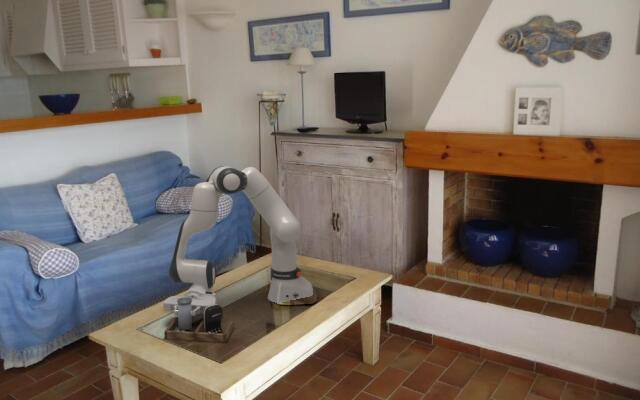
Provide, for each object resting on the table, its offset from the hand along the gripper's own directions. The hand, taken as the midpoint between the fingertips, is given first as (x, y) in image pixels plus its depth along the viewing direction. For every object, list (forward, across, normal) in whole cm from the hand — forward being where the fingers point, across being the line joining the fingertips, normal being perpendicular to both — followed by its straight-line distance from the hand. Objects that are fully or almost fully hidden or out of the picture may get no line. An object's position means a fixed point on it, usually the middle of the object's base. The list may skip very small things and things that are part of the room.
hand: (184, 313), depth 204 cm
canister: (-1, 0, +6) cm, 6 cm away
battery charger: (0, +11, +8) cm, 14 cm away
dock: (-1, +6, +8) cm, 10 cm away
